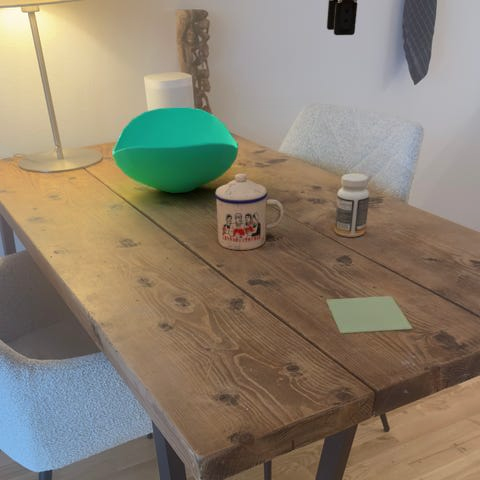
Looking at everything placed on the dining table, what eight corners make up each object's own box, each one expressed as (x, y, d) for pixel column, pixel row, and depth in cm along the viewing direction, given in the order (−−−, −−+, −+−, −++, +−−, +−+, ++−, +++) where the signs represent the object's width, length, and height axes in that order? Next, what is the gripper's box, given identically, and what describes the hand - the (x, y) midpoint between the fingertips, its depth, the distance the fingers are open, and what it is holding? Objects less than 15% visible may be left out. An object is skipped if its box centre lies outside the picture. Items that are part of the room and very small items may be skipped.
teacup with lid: (217, 252, 100) (213, 183, 92) (217, 233, 107) (214, 168, 99) (284, 250, 100) (287, 181, 92) (280, 231, 107) (281, 166, 99)
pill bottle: (359, 226, 108) (365, 171, 102) (369, 236, 104) (376, 180, 98) (330, 228, 108) (334, 173, 101) (339, 239, 103) (344, 182, 97)
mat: (391, 296, 85) (391, 295, 85) (412, 329, 77) (412, 328, 77) (325, 300, 84) (325, 299, 84) (340, 333, 76) (340, 332, 76)
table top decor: (248, 213, 115) (248, 142, 107) (112, 221, 113) (100, 149, 105) (231, 162, 146) (229, 104, 138) (123, 168, 144) (115, 109, 136)
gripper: (390, -121, 74) (372, 37, 85) (368, -108, 87) (355, 27, 98) (332, -120, 74) (322, 37, 85) (319, -107, 87) (312, 28, 98)
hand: (339, 32), depth 92 cm, fingers open, 9 cm apart
